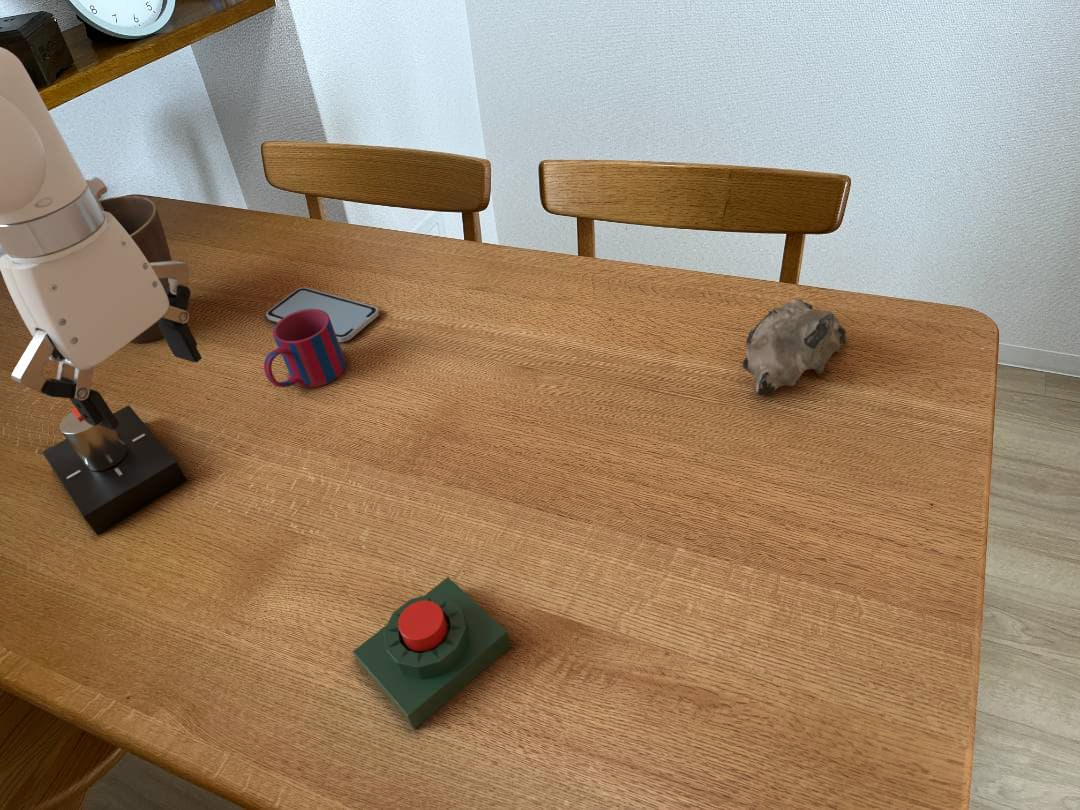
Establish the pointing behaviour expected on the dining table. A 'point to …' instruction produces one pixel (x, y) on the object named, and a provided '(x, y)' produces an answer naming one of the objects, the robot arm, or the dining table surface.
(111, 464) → the hob knob
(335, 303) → the smartphone
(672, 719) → the dining table surface
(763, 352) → the decorative stone
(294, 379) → the mug
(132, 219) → the flower pot
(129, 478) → the panel
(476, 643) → the block
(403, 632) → the button
